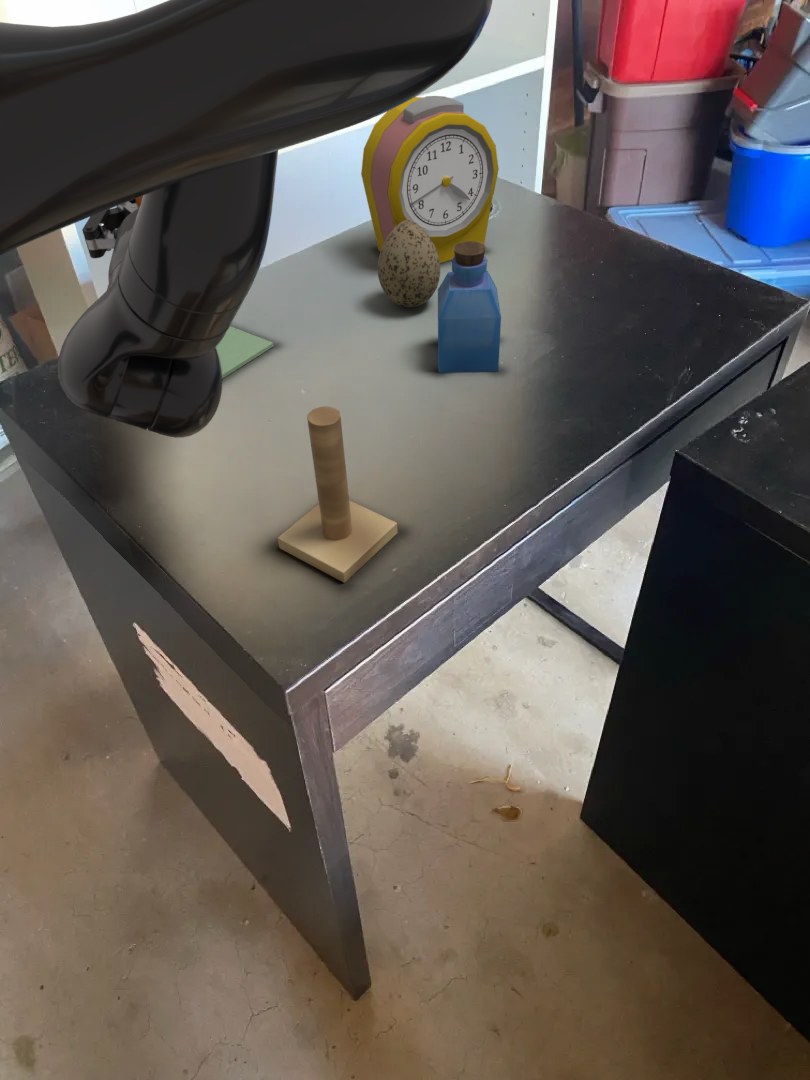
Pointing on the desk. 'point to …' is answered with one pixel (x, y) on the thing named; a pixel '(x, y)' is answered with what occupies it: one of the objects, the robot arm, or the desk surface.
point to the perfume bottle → (468, 314)
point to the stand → (334, 509)
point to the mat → (239, 349)
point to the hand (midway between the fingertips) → (170, 194)
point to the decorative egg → (408, 265)
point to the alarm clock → (430, 172)
